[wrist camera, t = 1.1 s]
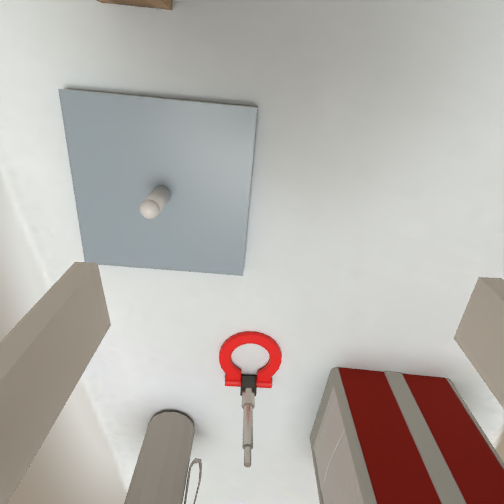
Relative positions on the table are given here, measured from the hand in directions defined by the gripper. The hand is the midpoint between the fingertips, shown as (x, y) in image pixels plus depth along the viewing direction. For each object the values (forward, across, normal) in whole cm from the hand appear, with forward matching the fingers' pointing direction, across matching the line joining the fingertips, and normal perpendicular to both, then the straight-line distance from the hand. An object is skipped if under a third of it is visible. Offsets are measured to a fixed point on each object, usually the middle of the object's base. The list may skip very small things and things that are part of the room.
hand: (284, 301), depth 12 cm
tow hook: (+25, -1, -28) cm, 38 cm away
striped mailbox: (+25, +18, -38) cm, 49 cm away
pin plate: (+25, -11, -5) cm, 28 cm away
